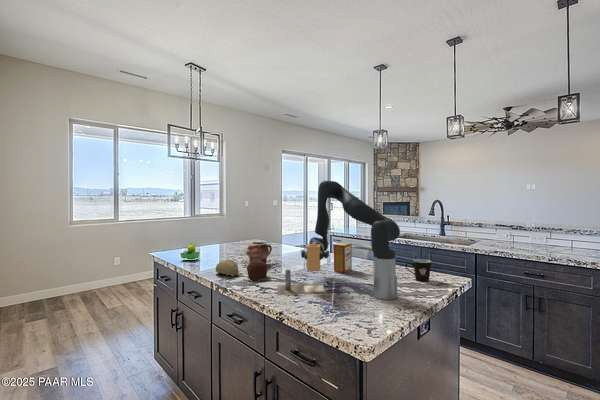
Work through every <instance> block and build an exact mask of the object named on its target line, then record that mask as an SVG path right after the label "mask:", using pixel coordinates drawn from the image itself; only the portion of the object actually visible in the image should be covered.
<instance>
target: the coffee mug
mask: <svg viewBox="0 0 600 400" xmlns="http://www.w3.org/2000/svg"><path fill="white" fill-rule="evenodd" d="M412 260H413V263H412V262H406V263H405V268H406V269H407V271H408V272H410V273H412V274H413V275H414V278H415V281H417V282H420V283H428V282H429V281H430V274H431V267H432V260H431V259H423V258H416V259H412ZM409 264H410V265H412V266H413V268H414V269H413V270H414V271H411V270H410V268H408V267H407V266H408V265H409Z"/></svg>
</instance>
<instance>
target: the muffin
mask: <svg viewBox="0 0 600 400" xmlns="http://www.w3.org/2000/svg"><path fill="white" fill-rule="evenodd" d="M268 269H269V266H268V264H267V262H266V263H265V262H263V261H260V260H255V261H252V262H250V261H249V263H248V265H246V271H247V277H248V280H249V279H250V280H253V281H255V280H262V279H266V278H267V275H268Z"/></svg>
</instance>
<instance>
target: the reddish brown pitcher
mask: <svg viewBox="0 0 600 400" xmlns="http://www.w3.org/2000/svg"><path fill="white" fill-rule="evenodd" d="M272 250H273V248H272V245H271V244H268V243H267V242H264V241H263V242H262V241H261V242H260V241H256V242H255V241H253V242H251V243H249V245H248V246H247V248H246V251H245V254H246V255H247V257H248V258H249V263H250V262H252V261H255V260H260V261H263V262H265V263H266V264H267V261H268V258H269V256H270V254H271V252H272Z"/></svg>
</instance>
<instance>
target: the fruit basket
mask: <svg viewBox="0 0 600 400" xmlns="http://www.w3.org/2000/svg"><path fill="white" fill-rule="evenodd" d="M200 253H201V252H200V251H196V245H195V243H193V242H191V243H190V244H189V245H188V246H187V251H183V252H180V253H179V254H180V257H181V259H182V258H187V259H195V258H198V259H199V257H200Z"/></svg>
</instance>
